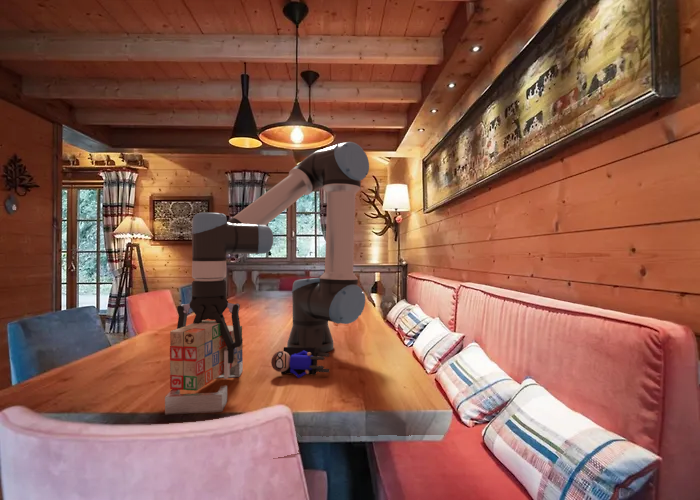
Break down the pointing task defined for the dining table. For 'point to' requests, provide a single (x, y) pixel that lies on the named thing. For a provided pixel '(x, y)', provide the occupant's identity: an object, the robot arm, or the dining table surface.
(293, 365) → the character figurine
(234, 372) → the grey piece
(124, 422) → the dining table surface
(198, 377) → the stack of blocks
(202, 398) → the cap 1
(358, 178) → the robot arm
